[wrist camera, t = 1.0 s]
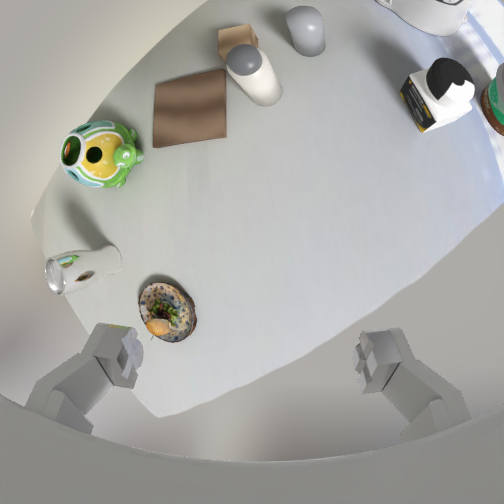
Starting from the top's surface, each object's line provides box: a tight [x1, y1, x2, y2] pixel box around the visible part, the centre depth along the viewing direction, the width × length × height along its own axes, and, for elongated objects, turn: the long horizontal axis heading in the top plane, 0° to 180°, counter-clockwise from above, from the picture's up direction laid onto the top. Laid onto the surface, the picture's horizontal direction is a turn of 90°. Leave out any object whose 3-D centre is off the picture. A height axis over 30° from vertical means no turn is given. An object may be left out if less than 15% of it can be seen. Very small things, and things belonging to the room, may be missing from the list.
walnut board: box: [153, 69, 226, 148], centre depth 41 cm, size 12×13×1 cm
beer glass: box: [44, 245, 122, 296], centre depth 44 cm, size 7×7×15 cm
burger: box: [138, 282, 197, 343], centre depth 45 cm, size 12×12×8 cm
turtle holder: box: [59, 120, 144, 188], centre depth 41 cm, size 12×18×12 cm
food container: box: [481, 63, 504, 136], centre depth 22 cm, size 12×6×10 cm, turn 3°
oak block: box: [218, 24, 258, 62], centre depth 35 cm, size 5×5×5 cm
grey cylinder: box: [286, 6, 325, 57], centre depth 30 cm, size 5×5×8 cm
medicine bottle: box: [399, 58, 474, 133], centre depth 25 cm, size 7×7×12 cm
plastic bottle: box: [226, 44, 282, 106], centre depth 32 cm, size 5×5×12 cm
